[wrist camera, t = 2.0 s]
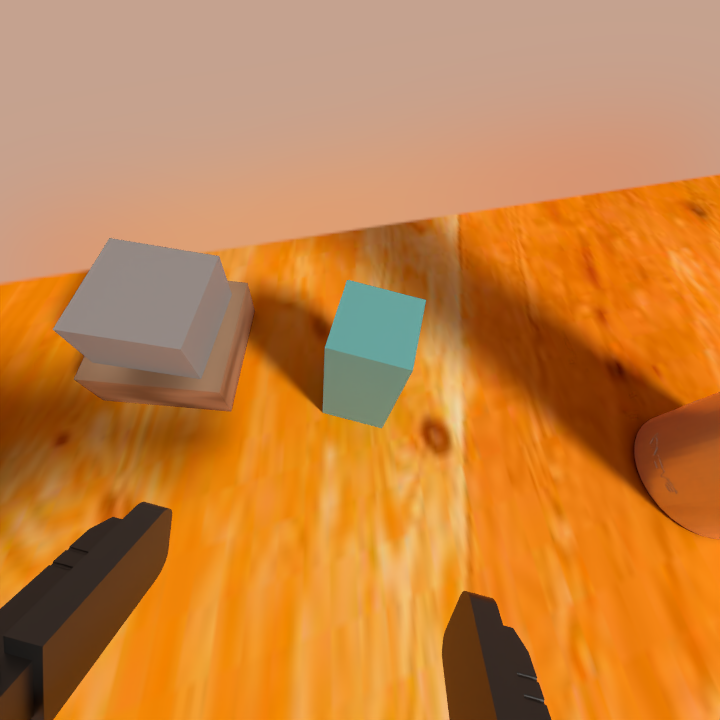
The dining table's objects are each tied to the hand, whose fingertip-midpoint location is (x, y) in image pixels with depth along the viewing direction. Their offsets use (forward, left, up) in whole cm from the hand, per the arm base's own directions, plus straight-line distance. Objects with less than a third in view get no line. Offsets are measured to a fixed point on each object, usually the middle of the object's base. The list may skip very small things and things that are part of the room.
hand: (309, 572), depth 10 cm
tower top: (+12, -14, -11) cm, 21 cm away
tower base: (+12, -14, -15) cm, 24 cm away
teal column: (-2, -11, -15) cm, 19 cm away
